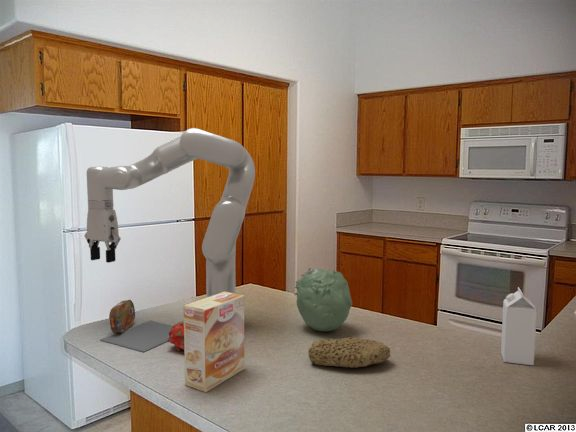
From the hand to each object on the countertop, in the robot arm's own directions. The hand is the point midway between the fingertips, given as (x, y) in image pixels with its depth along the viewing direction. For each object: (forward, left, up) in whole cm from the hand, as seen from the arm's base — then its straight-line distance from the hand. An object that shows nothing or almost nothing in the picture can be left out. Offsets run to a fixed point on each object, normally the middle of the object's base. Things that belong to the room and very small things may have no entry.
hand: (103, 260), depth 147 cm
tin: (-8, 0, -22) cm, 23 cm away
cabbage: (-64, -31, -22) cm, 74 cm away
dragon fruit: (-37, +2, -22) cm, 43 cm away
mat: (-19, 0, -22) cm, 29 cm away
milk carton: (-119, -36, -22) cm, 126 cm away
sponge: (-81, -12, -22) cm, 84 cm away
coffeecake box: (-55, +12, -22) cm, 60 cm away
